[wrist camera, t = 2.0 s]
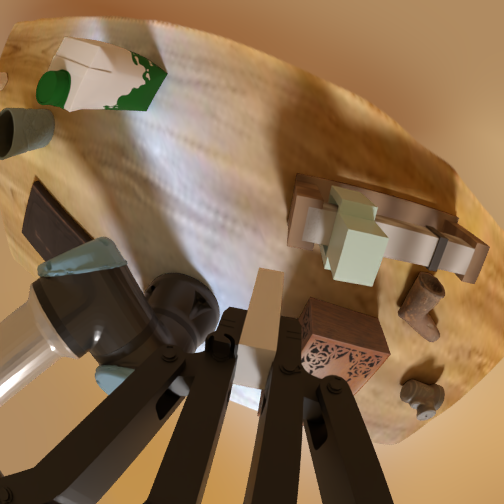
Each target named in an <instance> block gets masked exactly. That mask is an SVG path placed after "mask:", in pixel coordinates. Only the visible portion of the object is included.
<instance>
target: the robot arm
mask: <svg viewBox="0 0 504 504" xmlns="http://www.w3.org/2000/svg"><path fill="white" fill-rule="evenodd" d="M127 264H128V263H127V261H126V260H124V259H123V257H122V255H121V254H120V252H119V250H118V248H117V247H116V245H115V243H114V242H113V241H112V240H111V239H109V238H107V237H99V238H97V239H94V240H92V241H89V242H87V243H85V244H82V245H80V246H78V247H76V248H73V249H71V250H69V251H67V252H65V253H62V254H60V255H58V256H56V257H54V258H52V259H50V260H48V261H46V262H44V263H42V264H40V265H39V266H38V268H37V270H38V275H39V276H40V278H39V279H38V280H36V281H35V282H33V283H32V284H31V286H30V291H29V298H28V300H27V302H26V303H24V304H23V305H22V306H20V307H19V308H18V309H17V310H15V311H14V312H13V313H12V314H10V315H9V316H8V317H7V318H6V319H4V320H3V321H2V322H1V323H0V407H1V406H2V405H3V404H4V403H6V402H7V401H8V400H9V399H10V398H12V397H13V396H14V395H15V394H16V393H18V392H19V391H20V390H21V389H23V388H24V387H25V386H26V385H27V384H29V383H30V382H31V381H32V380H34V379H35V378H36V377H37V376H38V375H40V374H41V373H42V372H44V371H45V370H46V369H47V368H49V367H50V366H51V365H52V364H54V363H55V362H56V361H58V360H59V359H60V358H61V357H70V358H75V359H79V358H80V357H82V356H83V355H84V354H86V353H87V352H90V353H91V354H92V356H93V357H94V358H95V359H96V361H97V362H98V363H99V366H98V367H97V368H96V373H95V379H96V382H97V384H98V385H99V386H100V388H101V389H102V390H103V391H104V392H106V393H107V394H108V395H109V396H108V397H107V398H106V399H105V400H103V402H102V403H100V404H99V405H98V406H97V407H96V408H95V409H94V410H93V411H92V412H91V413H90V414H89V415H88V416H87V417H86V418H85V419H84V420H83V421H82V422H81V423H80V424H79V425H78V426H77V427H76V428H75V429H73V430H72V431H71V432H70V433H69V434H68V435H67V436H66V437H65V438H64V439H63V440H62V441H61V442H60V443H59V444H58V445H57V446H56V447H55V448H54V449H53V450H52V451H50V452H49V453H48V454H47V455H46V456H45V457H44V458H43V459H42V460H41V461H40V462H39V463H38V464H37V465H36V466H35V467H34V468H31V469H28V470H25V471H22V472H19V473H15V474H12V475H8V476H5V477H4V475H3V474H2V473H1V471H0V504H96V503H97V502H98V501H99V500H100V499H101V498H102V496H103V495H104V494H105V493H106V492H107V491H108V490H109V489H110V487H111V486H112V485H113V484H114V483H115V482H116V481H117V480H118V478H119V477H120V476H121V475H122V474H123V473H124V471H125V470H126V469H127V468H128V467H129V466H130V464H131V463H132V462H133V461H134V460H135V459H136V457H137V456H138V455H139V454H140V453H141V451H142V450H143V449H144V448H145V446H146V445H147V444H148V443H149V442H150V441H151V439H152V438H153V437H154V436H155V434H156V433H157V432H158V431H159V430H160V428H161V427H162V426H163V425H164V423H165V422H166V421H167V420H168V418H169V417H170V416H171V415H172V413H173V412H174V411H175V409H176V408H177V407H178V406H179V405H180V403H181V402H182V401H183V399H184V398H185V397H186V396H187V399H186V401H185V404H184V406H183V409H182V411H181V414H180V416H179V419H178V422H177V424H176V427H175V429H174V432H173V434H172V437H171V439H170V442H169V445H168V447H167V450H166V452H165V455H164V457H163V460H162V463H161V465H160V468H159V471H158V473H157V476H156V478H155V481H154V483H153V486H152V489H151V491H150V494H149V496H148V498H147V500H146V501H145V502H144V503H143V504H201V502H202V498H203V494H204V491H205V487H206V484H207V480H208V477H209V473H210V469H211V465H212V462H213V458H214V455H215V451H216V447H217V444H218V439H219V436H220V432H221V428H222V424H223V421H224V417H225V413H226V410H227V406H228V402H229V398H230V394H231V388H232V384H236V385H241V386H246V387H251V388H256V389H262V390H265V393H264V396H263V399H262V402H261V405H260V408H261V411H260V417H259V423H258V429H257V435H256V441H255V446H254V451H253V457H252V462H251V468H250V473H249V478H248V483H247V488H246V493H245V497H244V502H243V504H297V495H298V484H299V473H300V460H301V445H302V427H303V424H304V428H305V432H306V436H307V440H308V445H309V449H310V452H311V457H312V461H313V465H314V469H315V473H316V478H317V482H318V486H319V490H320V495H321V499H322V503H323V504H394V503H393V500H392V497H391V494H390V492H389V488H388V485H387V483H386V480H385V477H384V474H383V471H382V468H381V466H380V463H379V460H378V458H377V455H376V452H375V450H374V447H373V444H372V442H371V439H370V436H369V434H368V431H367V429H366V426H365V423H364V421H363V418H362V416H361V413H360V411H359V408H358V406H357V403H356V401H355V398H354V396H353V394H352V391H351V389H350V386H349V384H348V383H347V381H346V380H344V379H343V378H342V377H339V376H337V375H328V376H325V377H324V378H323V379H321V378H318V377H316V376H313V375H311V374H310V373H308V372H307V371H306V370H305V369H304V368H303V365H302V362H301V344H302V340H301V339H302V335H301V333H302V326H301V324H300V322H299V321H298V319H295V318H289V317H283V316H280V313H281V302H282V292H283V281H284V272H280V271H275V270H269V269H264V268H259V271H258V274H257V278H256V282H255V286H254V289H253V293H252V297H251V301H250V304H249V308H248V310H243V309H239V308H234V307H229V308H228V309H227V310H225V311H224V312H223V315H222V317H221V320H220V322H219V325H218V328H217V330H216V331H215V329H216V326H217V324H218V321H219V316H220V312H219V306H218V303H217V301H216V299H215V297H214V296H213V294H212V293H211V291H210V290H209V289H208V288H207V287H206V286H205V285H203V284H202V283H201V282H199V281H198V280H196V279H194V278H192V277H190V276H187V275H184V274H179V273H168V274H164V275H161V276H159V277H157V278H156V279H155V280H154V281H153V282H152V283H151V284H150V285H149V287H148V288H147V290H146V292H145V294H143V292H142V291H141V289H140V287H139V286H138V284H137V282H136V280H135V279H134V277H133V275H132V273H131V271H130V270H129V268H128V266H127ZM204 341H205V351H203V352H199V353H195V351H196V349H197V348H198V347H199V346H200V345H201V344H202V343H203V342H204Z"/></svg>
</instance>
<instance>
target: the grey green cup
mask: <svg viewBox="0 0 504 504" xmlns="http://www.w3.org/2000/svg"><path fill="white" fill-rule="evenodd" d="M54 126H55V123H54V117H53V114H52V112H51V111H50V110H47V109H24V108H5V109H3V110H2V111H1V112H0V160H4V159H7V158H9V157H12V156H15V155H18V154H21V153H25V152H27V151H31V150H35V149H38V148H42V147H45V146H46V145H47V144H48V143H49V142H50V141H51V139H52V136H53V133H54Z"/></svg>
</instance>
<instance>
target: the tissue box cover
mask: <svg viewBox="0 0 504 504" xmlns="http://www.w3.org/2000/svg"><path fill="white" fill-rule="evenodd" d="M298 321H299V322H300V324H301V326H302V333H301V335H302V339H301V340H302V344H301V362H302V365H303V368H304V369H305V370H306V371H307V372H308V373H310V374H311V375H313V376H316V377H318V378H321V379H323V378H324V377H325V376H328V375H337V376H339V377H342V378H343V379H344V380H346V381H347V383H348V384H349V386H350V389H351V391H352V394H353V396H354V395H355V394H356V393H357V392H358V391H359V390H360V389H361V388H362V387H363V386H364V384H365V383H366V382H367V381H368V380H369V379H370V378H371V377H372V376H373V374H374V373H375V372H376V371H377V370H378V369H379V368H380V366H381V365H382V364H383V363H384V362H385V360H386V359H387V358H388V357H389V356H390V351H389V348H388V345H387V342H386V339H385V336H384V333H383V330H382V328H381V325H380V322H379V320H378V318H375V317H372V316H368V315H365V314H362V313H359V312H356V311H352V310H349V309H346V308H343V307H340V306H337V305H334V304H330V303H327V302H324V301H321V300H318V299H315V298H312V297H310V299H309V301H308V303H307V304H306V306H305V308H304V310H303V312H302V314H301V316H300V318H299V320H298ZM264 393H265V390H261V397H260V403H259V409H258V416H260V411H261V408H260V405H261V402H262V399H263V396H264ZM303 426H304V424H303Z"/></svg>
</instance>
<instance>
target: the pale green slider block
mask: <svg viewBox="0 0 504 504" xmlns="http://www.w3.org/2000/svg"><path fill="white" fill-rule="evenodd" d="M328 203H330V204H335V205H338V206H339V207H338V211H337V215H336V219H335V223H334V227H333V231H332V235H331V239H330V243H329V246H327V245H322V244H319V246H320V251H321V255H322V260H323V265H324V269H328V270H331V272H332V276H333V280H338V281H343V282H349V283H355V284H360V285H366V286H373V283H374V280H375V278H376V275H377V272H378V270H379V267H380V264H381V261H382V258H383V255H384V252H385V249H386V246H387V243H388V240H389V238H388V236H387V235H386V234H385V233H384V232H383V230H382V229H381V228H380V227H379V226H378V225H377V224H376V222H375V221H374V220H375V217H376V213H377V209H378V207H377V206H376V205H375V204H373V203H372V202H371V201H370V200H369V199H368V198H367V197H366V196H364V195H363V194H362V193H361V192H358V191H354V190H350V189H346V188H341V187H337V186H333V185H332V186H331V190H330V195H329V200H328Z"/></svg>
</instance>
